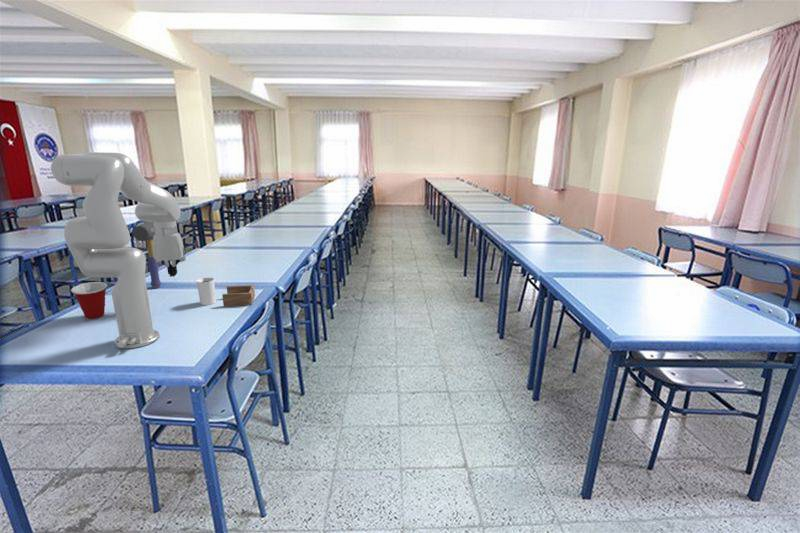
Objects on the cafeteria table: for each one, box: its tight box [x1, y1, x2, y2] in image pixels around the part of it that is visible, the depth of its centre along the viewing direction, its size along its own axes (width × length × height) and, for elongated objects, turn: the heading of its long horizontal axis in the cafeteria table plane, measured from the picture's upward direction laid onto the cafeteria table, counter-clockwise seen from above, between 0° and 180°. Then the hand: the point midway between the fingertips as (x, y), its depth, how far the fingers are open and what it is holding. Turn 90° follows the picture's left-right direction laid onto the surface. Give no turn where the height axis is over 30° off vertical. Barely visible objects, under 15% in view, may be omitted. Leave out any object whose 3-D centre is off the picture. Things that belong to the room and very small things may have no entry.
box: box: [222, 284, 256, 307], centre depth 173 cm, size 11×11×5 cm
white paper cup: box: [196, 277, 216, 306], centre depth 169 cm, size 7×7×10 cm
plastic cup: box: [70, 281, 108, 320], centre depth 153 cm, size 11×11×12 cm
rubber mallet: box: [132, 222, 162, 289], centre depth 184 cm, size 12×8×30 cm, turn 3°
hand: (173, 275), depth 166 cm, fingers closed
